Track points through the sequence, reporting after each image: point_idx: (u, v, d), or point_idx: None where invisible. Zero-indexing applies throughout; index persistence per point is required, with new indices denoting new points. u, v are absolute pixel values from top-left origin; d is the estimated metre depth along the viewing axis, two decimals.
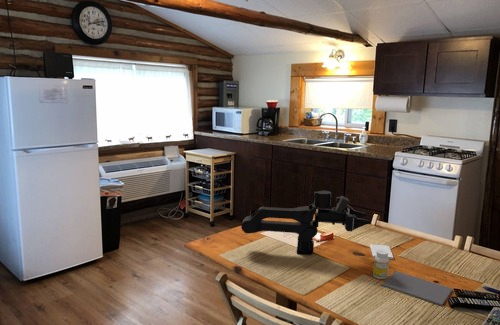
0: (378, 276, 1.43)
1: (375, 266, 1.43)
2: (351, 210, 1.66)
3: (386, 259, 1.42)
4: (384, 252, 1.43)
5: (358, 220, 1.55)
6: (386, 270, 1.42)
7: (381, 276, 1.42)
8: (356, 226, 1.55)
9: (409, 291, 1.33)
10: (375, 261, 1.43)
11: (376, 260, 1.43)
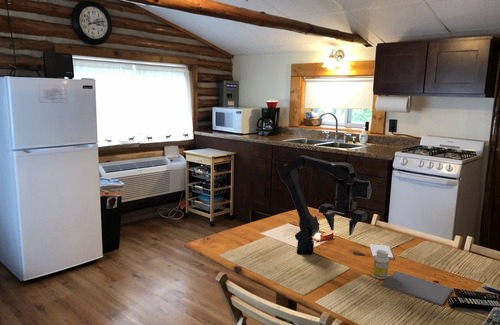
0: (378, 276, 1.43)
1: (375, 266, 1.43)
2: (333, 214, 1.58)
3: (386, 259, 1.42)
4: (384, 252, 1.43)
5: (355, 223, 1.52)
6: (386, 270, 1.42)
7: (381, 276, 1.42)
8: (353, 223, 1.50)
9: (409, 291, 1.33)
10: (375, 261, 1.43)
11: (376, 260, 1.43)
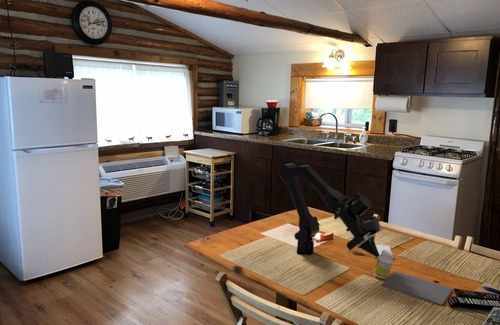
0: (379, 275, 1.43)
1: (378, 265, 1.43)
2: (371, 240, 1.47)
3: (390, 260, 1.41)
4: (389, 253, 1.42)
5: (369, 245, 1.45)
6: (388, 271, 1.42)
7: (382, 276, 1.42)
8: (363, 247, 1.46)
9: (409, 291, 1.33)
10: (379, 261, 1.42)
11: (380, 260, 1.42)
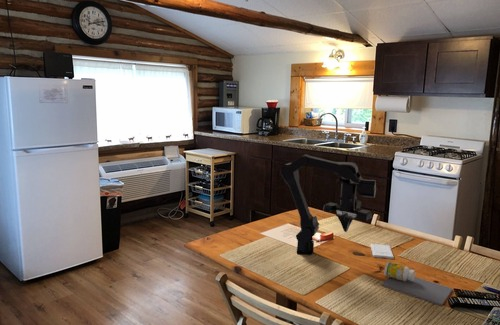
0: (387, 270, 1.41)
1: (397, 269, 1.40)
2: (346, 215, 1.58)
3: (406, 280, 1.39)
4: (413, 278, 1.39)
5: (351, 220, 1.56)
6: (394, 278, 1.41)
7: (387, 273, 1.41)
8: (349, 220, 1.54)
9: (409, 291, 1.33)
10: (402, 270, 1.39)
11: (404, 271, 1.38)
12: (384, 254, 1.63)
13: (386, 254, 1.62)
